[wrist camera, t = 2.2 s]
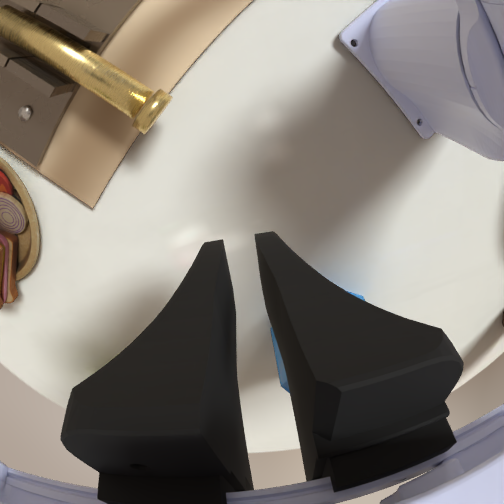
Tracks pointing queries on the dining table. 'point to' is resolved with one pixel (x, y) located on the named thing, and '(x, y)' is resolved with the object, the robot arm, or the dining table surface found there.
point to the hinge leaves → (49, 69)
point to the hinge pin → (84, 67)
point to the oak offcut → (142, 69)
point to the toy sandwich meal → (15, 233)
